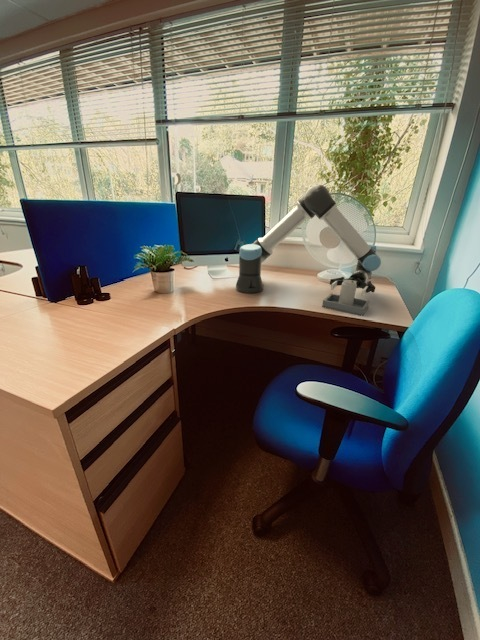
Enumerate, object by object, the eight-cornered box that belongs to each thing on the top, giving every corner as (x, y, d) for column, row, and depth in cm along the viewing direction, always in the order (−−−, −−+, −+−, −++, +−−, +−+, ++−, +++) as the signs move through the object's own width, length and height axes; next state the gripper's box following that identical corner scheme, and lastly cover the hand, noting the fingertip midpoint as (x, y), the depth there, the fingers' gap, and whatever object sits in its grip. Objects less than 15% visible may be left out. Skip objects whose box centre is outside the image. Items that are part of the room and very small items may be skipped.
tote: (322, 306, 124) (323, 300, 122) (329, 299, 133) (331, 293, 131) (362, 315, 114) (364, 309, 113) (368, 307, 123) (369, 301, 122)
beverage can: (353, 309, 120) (358, 283, 115) (338, 307, 121) (343, 282, 116) (351, 304, 126) (355, 279, 121) (337, 302, 127) (341, 278, 122)
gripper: (383, 290, 128) (375, 303, 113) (332, 282, 141) (318, 292, 125) (387, 275, 125) (379, 286, 109) (334, 268, 138) (321, 277, 122)
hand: (347, 289), depth 117 cm, fingers open, 13 cm apart
